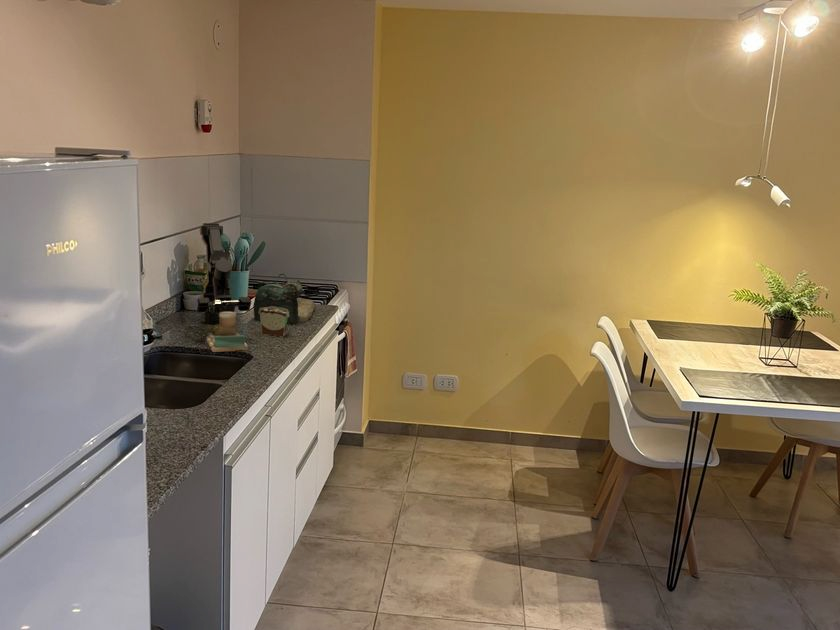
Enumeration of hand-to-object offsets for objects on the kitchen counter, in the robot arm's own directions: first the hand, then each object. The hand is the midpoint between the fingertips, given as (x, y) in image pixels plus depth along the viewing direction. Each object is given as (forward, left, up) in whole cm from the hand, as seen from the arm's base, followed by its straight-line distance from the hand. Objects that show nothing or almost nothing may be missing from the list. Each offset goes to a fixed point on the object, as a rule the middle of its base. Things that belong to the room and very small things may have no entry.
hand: (226, 324), depth 273 cm
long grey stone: (-61, -5, -8) cm, 61 cm away
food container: (-23, +6, -8) cm, 25 cm away
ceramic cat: (-40, -5, -8) cm, 41 cm away
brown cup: (+2, +2, -6) cm, 6 cm away
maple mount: (+1, +1, -7) cm, 7 cm away
